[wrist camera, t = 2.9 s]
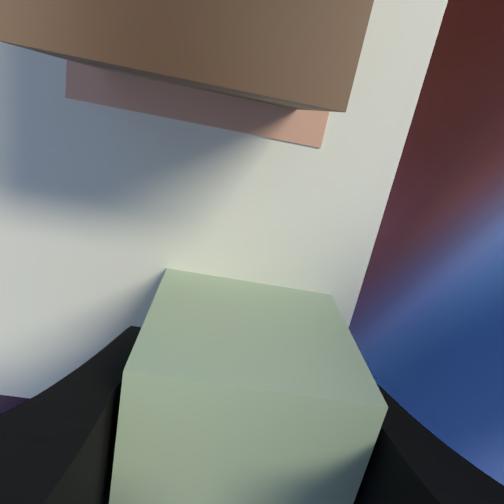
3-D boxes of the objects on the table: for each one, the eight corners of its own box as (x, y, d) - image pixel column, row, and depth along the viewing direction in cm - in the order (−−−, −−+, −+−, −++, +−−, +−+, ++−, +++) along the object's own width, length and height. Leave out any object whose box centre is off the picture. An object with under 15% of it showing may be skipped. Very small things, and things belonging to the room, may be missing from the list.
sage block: (331, 294, 11) (388, 407, 7) (295, 425, 13) (324, 583, 9) (166, 268, 11) (122, 370, 7) (148, 406, 12) (102, 563, 8)
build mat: (525, -285, 8) (542, -307, 7) (314, 425, 13) (316, 436, 13) (-24, -460, 7) (-42, -497, 7) (-11, 383, 12) (-20, 393, 12)
